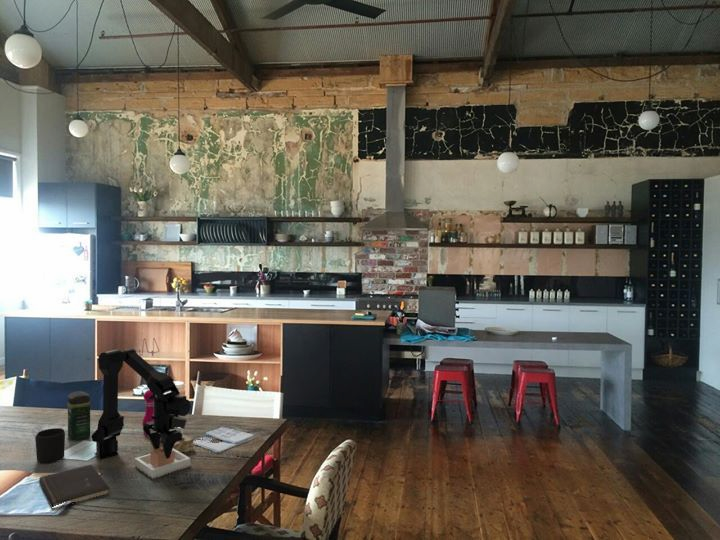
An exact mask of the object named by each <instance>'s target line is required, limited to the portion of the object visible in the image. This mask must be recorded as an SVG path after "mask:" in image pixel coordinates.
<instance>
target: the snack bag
mask: <svg viewBox="0 0 720 540" xmlns="http://www.w3.org/2000/svg"><path fill="white" fill-rule="evenodd" d="M204 436H205V437H203V436H202V437H200V438H199V439H201V440H197V439H195V440H196V441H195V440H193V444H195V445H198V446H201V447H203V448H202V449H204V448H206V449H205V450H207V449H209V450H208V451H210V452H213V453H214V454H220V453H221V454H222V453H223V452H225V450H226V451H228V450H230V449H232V447H233V448H236V447H237V446H241V445H243V444H245V443H247V442H249V441H252V440H254V439H255V437H254V436H255V434H252V433H249V432H245V431H241V430H236V429H232V428H227V427H225V426H221V427H219V428H216V429H212V430H210V431H206V432H205V433H204ZM208 437H209V438H208ZM210 438H211V439H210ZM212 438H215V439H218V440H217V441H218V442H219V443H212V442H210V441H211V440H212ZM202 439H203V440H202ZM209 440H210V441H209ZM221 440H222V441H221ZM195 445H194V446H195ZM198 446H197V447H198ZM201 447H200V448H201ZM227 449H228V450H227Z"/></svg>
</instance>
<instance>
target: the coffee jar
mask: <svg viewBox="0 0 720 540" xmlns="http://www.w3.org/2000/svg"><path fill="white" fill-rule="evenodd" d="M67 437H68V439H69V440H70V441H83V440H86V439H88V438H89V439H90V437H91V395H90V394H89V393H88V392H86V391H83V390H79V391H71V393H70V394H68V395H67Z"/></svg>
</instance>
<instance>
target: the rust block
mask: <svg viewBox="0 0 720 540" xmlns="http://www.w3.org/2000/svg"><path fill="white" fill-rule="evenodd" d="M150 454H151V465H152V466H154V467H155V468H157V467H160V466H163V465H167V464H170V463H173V462H174V450H172V452H171V455H170V458H168V459H166V457H165V454H164V451H163V448H162V447H160V448H158V449H154V448H153V449H151V450H150Z"/></svg>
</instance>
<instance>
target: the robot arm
mask: <svg viewBox="0 0 720 540" xmlns="http://www.w3.org/2000/svg"><path fill="white" fill-rule="evenodd" d="M97 361H98V369H99V371H100V372H101V374H102V377H103V381H102V382H103V383H102V384H103V387H102V390H103V391H102V392H103V394H102V413H101V415H100V417H99V419H98V422H97V427H96V428H97V429H96V430H95V431H94V432H93V433H92V435H90V437H91V440H92V442H94V443H96V446H95V447H96V449H95V452H94V455H95V456H96V458H99V459H101V460H102V459H105V458H110V457H113V456H118V455H119V452H118V451H119V440H118V439H117V437H118V436H119V437H120V436H121V432H122V430H123V427H125V424H124V420H125V417H124V415H121V414H120V412H119V411H118V410H119V408H118V407H119V404H118V402H119V401H118V400H119V374H120V372H121V369H122V368H123V365H124V363H125V364H126V365H127V366H128V367H129V368H131V369H132V370H133V371H134V372H135V373H136V374H137V375H139V376H140V377H141V378H142V379H143V380H144V381H145V382H146V387H147V389H148V390H150V391H151V392H152V393H153V394H152V395H151V396H150V397H149V399H151V400H154V415H152V418H153V419H154V421H151V422H147V423H145V424H144V425H142V430H143V431H142V432H143V433H144V432H146V435H145V436H147V439H148V440H149V441H150V444H151V446H152V447H153V450H154V449H158V448H163V451H164V454H165V457H166V459H168V458H170V455H171V452H172V449H173V446H174V444H175V443H176V442H178V441H180V440H182V439H183V434H184V433H183V434H182V433H181V432H179V431H177V429H176V428H177V427H179V428H182V429H185V428H186V424H187V421H188V419H186V418H184V417H185V416H187V415H188V414H189V412H190V411H191V402H190V400H189V399H188V398H187V396H186V395H180V394H181V392H180V391H179V389H178V386H177V385H176V383H175V382H174V379H173V378H172V376H170V375H169V374H167V373H165V372H162V371H159V370H157V369H155V368H154V367H153V366H152V365H151V364H149V363H148V362H147V361H146V360H145V359H144V358H143V357H141V356H140V354H138V353H137V350H135V349H134V348H128V349H124V350H119V349H112V350H108V351H104V352H101V353H100V354H99V355H98V358H97Z"/></svg>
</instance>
